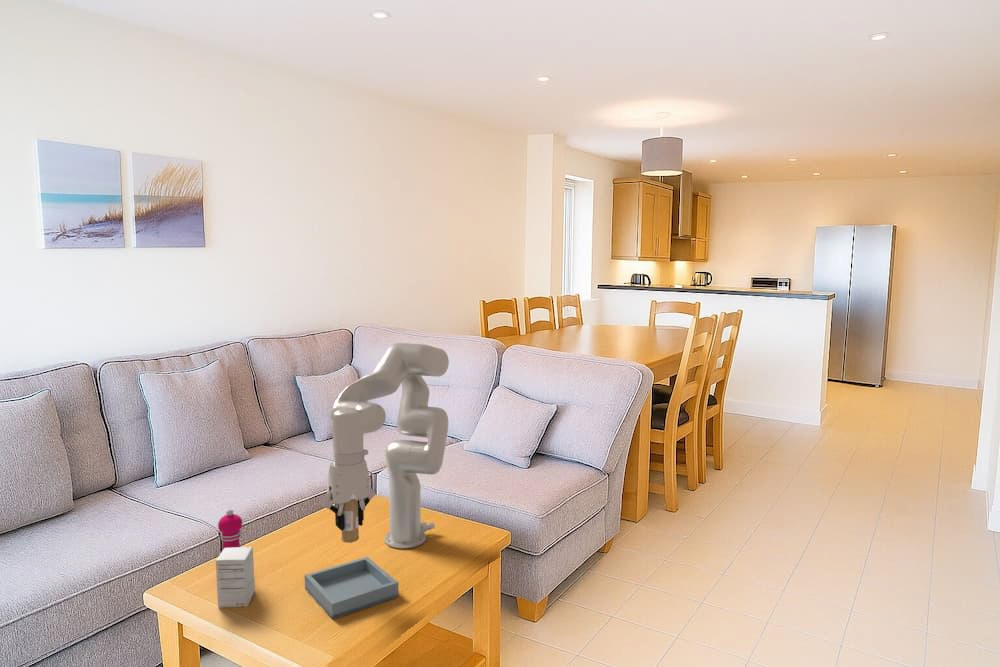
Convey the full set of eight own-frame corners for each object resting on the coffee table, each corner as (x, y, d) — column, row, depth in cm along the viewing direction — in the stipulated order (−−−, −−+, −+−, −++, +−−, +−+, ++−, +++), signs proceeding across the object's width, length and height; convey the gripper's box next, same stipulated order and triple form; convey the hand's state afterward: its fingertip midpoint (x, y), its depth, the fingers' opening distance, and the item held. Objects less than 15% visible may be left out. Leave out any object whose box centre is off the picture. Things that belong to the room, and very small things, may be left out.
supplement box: (226, 593, 173) (224, 546, 172) (255, 592, 174) (253, 546, 172) (216, 608, 166) (214, 560, 164) (247, 607, 167) (245, 559, 165)
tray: (367, 570, 186) (367, 556, 186) (398, 597, 172) (398, 582, 172) (304, 589, 176) (304, 574, 175) (332, 619, 161) (331, 604, 161)
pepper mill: (252, 576, 182) (250, 506, 180) (234, 589, 175) (231, 516, 173) (231, 572, 184) (228, 502, 182) (212, 584, 178) (208, 512, 175)
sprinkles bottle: (362, 538, 172) (362, 488, 171) (349, 545, 169) (348, 493, 167) (350, 534, 175) (349, 485, 173) (337, 540, 171) (336, 490, 170)
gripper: (372, 448, 177) (373, 514, 179) (310, 459, 167) (312, 529, 169) (385, 455, 171) (386, 523, 174) (322, 467, 161) (324, 539, 163)
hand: (349, 525), depth 171 cm, fingers closed on sprinkles bottle, 4 cm apart
